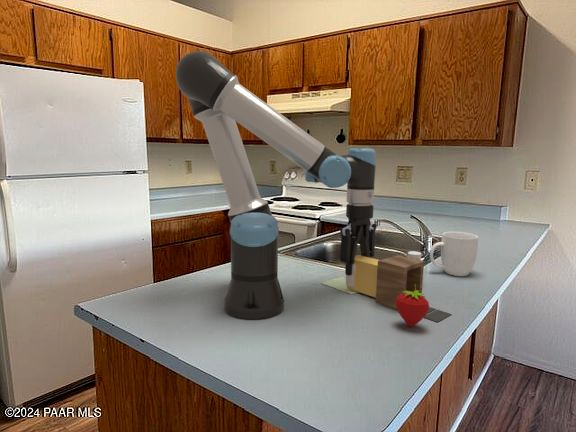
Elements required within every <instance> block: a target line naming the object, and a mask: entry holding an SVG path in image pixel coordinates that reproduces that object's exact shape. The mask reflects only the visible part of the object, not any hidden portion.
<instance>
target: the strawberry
mask: <svg viewBox="0 0 576 432" xmlns="http://www.w3.org/2000/svg"><path fill="white" fill-rule="evenodd" d="M418 291H419V290H417V291H416V284H415V291H414V293H413V292H410V291H406V290H405V291H402V292H403V293H406V294H400V295H399V296H398V297H397V298H396V301H395V304H396V308H397V310H396V311H397V312H398V314H399V315H400V317H401V318H402V320H403V321H404V322H405V324H406V325H407V326H408V327H410V328H413V327H415V326H416V325H417V324H419V322H421V321H423V319H425V318H424V317H425V316H426V315H427V312H428V310H429V307H430V304H429V301H428V300H427V299H426V298H425V294H423V293H419V292H418Z"/></svg>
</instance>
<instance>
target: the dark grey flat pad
mask: <svg viewBox="0 0 576 432" xmlns="http://www.w3.org/2000/svg"><path fill="white" fill-rule="evenodd" d="M451 316H452V313H449V312H446V311H443V310H440V309H436V308H434V307H431V306H429V310H428V312H427V314H426V316H425V317H424V318H423V319H427V320H428V321H432V322H435V323H439V322H442V321H444V320H446V319H447V318H448V317H451Z"/></svg>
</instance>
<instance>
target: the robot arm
mask: <svg viewBox="0 0 576 432" xmlns="http://www.w3.org/2000/svg"><path fill="white" fill-rule="evenodd" d="M175 81H176V84H177V87H178V89H179V90H180V92H181V93H182V94H183V95H184V96H185V97H186V98H187V100H188V103H189V106H190V108H191V112H192V115H193V117H194V119H196V120H198V121H199V122H201V123H202V127H203V129H204V131H205V135H206V137H207V140H208V145H209V146H210V150H211V152H212V155H213V157H214V158H213V159H214V161H215V164H216V166H217V170H218V173H219V175H220V179H221V182H222V184H223V188H224V190H225V194H226V196H227V199H228V202H229V205H230V209H229V211H228V212H227V216H228V219H229V222H230V228H229V234H230V282H229V285H228V287H227V292H226V294H225V297H224V302H223V303H224V307H223V308H224V311H225V312H226V313H227V314H228V315H230V316H232V317H234V318H239V319H244V320H261V319H268V318H272V317H275V316H278V315H279V314H281V313H282V312H283V311H284V309H285V297H284V295H283V291H282V288H281V285H280V282H279V279H278V278H279V277H278V273H279V272H278V269H279V268H278V267H279V266H278V265H279V262H278V261H279V257H278V256H279V255H278V254H279V251H278V250H279V233H280V232H279V230H280V227H279V224H278V223H279V222H278V220H277V218H276V217H275V216H273V214H272V211H271V208H270V204H269V202H268V201H267V200H266V199H265V198H262V197H261V195H260V192H259V189H258V186H257V182H256V180H255V176H254V173H253V171H252V167H251V164H250V161H249V158H248V155H247V151H246V148H245V146H244V144H243V143H244V142H243V140H242V136H241V133H240V131H239V128H238V125H237V123H238V124H240V126H242V127H243V128H245V129H246V130H248V132H250V133H252V135H253V134H254V135H255V136H256V137H258V138H259V139H260V140H262V141H263V142H265V143H266V144H267V145H269V146H270V147H272V148H273V149H274V150H276V151H277V152H279V153H280V154H282V155H283V156H284V157H285V158H286V159H289V160H290V161H291V162H293V163H294V164H296V165H297V166H298V167H300V168H301V169H303V170H304V180H305V181H306V182H307V183H314V184H317V183H320V184H321V183H322V184H323V185H324V186H326V187H328V188H331V189H336V188H341V187H344V186H345V185H346V202H347V204H346V207H345V209H346V212H345V216H346V217H347V218H348V222H347V224H346V225H347V226H345V227H340V229H339V231H340V232H339V233H340V235H341V236H340V238H341V239H340V257H339V258H340V259H339V261H340V262H341V263H344V264H345V271H344V273H345V279H346V285H348V286H351V287H355V268H356V264H353V263H354V259H355V256H356V253H357V249H358V244H359V250H360V255H361V256H365V257H369V258H374V257H375V249H376V247H375V244H376V230H377V226H378V224H377V223H373V222H371V220H372V219H373V218H374V206H373V203H375V201H374V200H375V199H374V198H375V182H376V181H375V179H376V168H377V161H376V158H377V156H376V155H377V154H376V150H375V149H374V148H367V147H366V148H357V147H356V148H353V147H352V148H349V149H348V153H347V154H345V155H344V154H343V155H340V154H339V155H338V154H336V153H335V152H334V151H332V150H331V149H329V148H328V147H327V146H325V144H323V143H322V142H320V141H318V139H316V138H315V137H313V136H312V135H310V134H309V133H307V131H305V130H304V129H303V128H301V127H299V126H298V125H297V124H295V123H294V122H293V121H291V120H290V119H289V118H287V117H286V116H284V115H283V114H281V112H279V111H278V110H277V109H275V108H274V107H272V106H271V105H269V104H268V103H266V102H265V101H264V100H263V99H261V98H259V97H258V96H257V95H256V94H254V93H252V92H251V91H250V90H249V89H247V88H246V87H244V86H243V85H242V84H240V82H239V79H238V76H237V75H236V74H234V72H232V71H230V70H229V69H228V68H227V67H226V66H224V65H223V63H221V62H220V61H219V59H217V58H216V57H215V56H214V55H213V54H211V53H208V52H206V51H201V50H196V51H195V50H194V51H190V52H188V53H186V54H185V55H183V56H181V58H180V60H179V61H178V63H177V66H176V68H175Z"/></svg>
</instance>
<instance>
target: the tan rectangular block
mask: <svg viewBox="0 0 576 432" xmlns="http://www.w3.org/2000/svg"><path fill="white" fill-rule="evenodd" d="M379 260H380V259H377V258H374V257H371V258H369V257H365V256H361V254H358V255H355V259H354V263H353V264H356V268H355V287H351V286H348V285H347V288H349V289H351V290H354V291H357V292H358V293H361V294H364V295H366V296H370V297H373V298H375V299H376V287H377V267H378V261H379Z"/></svg>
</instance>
